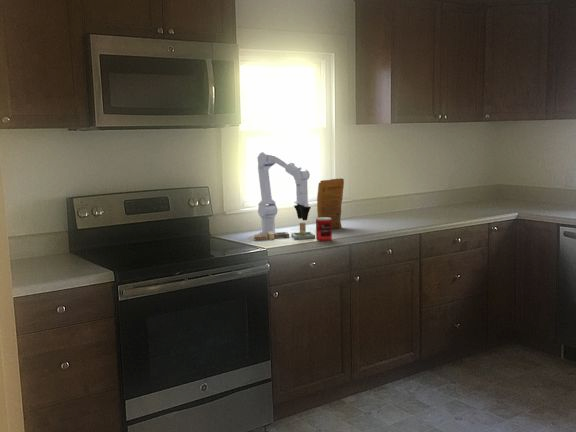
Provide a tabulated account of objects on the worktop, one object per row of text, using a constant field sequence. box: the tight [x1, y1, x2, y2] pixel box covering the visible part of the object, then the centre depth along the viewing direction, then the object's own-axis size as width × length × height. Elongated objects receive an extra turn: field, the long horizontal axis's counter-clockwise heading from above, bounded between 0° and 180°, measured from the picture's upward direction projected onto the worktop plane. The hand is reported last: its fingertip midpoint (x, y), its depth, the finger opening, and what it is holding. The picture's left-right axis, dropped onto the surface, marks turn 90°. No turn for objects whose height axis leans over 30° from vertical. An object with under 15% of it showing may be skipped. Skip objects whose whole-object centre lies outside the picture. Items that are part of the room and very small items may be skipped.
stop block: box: [267, 232, 275, 241], centre depth 333 cm, size 8×2×3 cm, turn 9°
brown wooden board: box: [253, 233, 268, 242], centre depth 332 cm, size 9×6×2 cm, turn 5°
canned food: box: [315, 217, 333, 242], centre depth 322 cm, size 8×8×11 cm
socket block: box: [274, 231, 290, 239], centre depth 337 cm, size 7×7×2 cm
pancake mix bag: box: [316, 178, 345, 230], centre depth 360 cm, size 7×19×28 cm, turn 121°
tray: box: [291, 231, 316, 240], centre depth 333 cm, size 12×10×2 cm
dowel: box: [299, 222, 307, 236], centre depth 333 cm, size 3×3×7 cm
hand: (302, 219), depth 332 cm, fingers open, 7 cm apart
